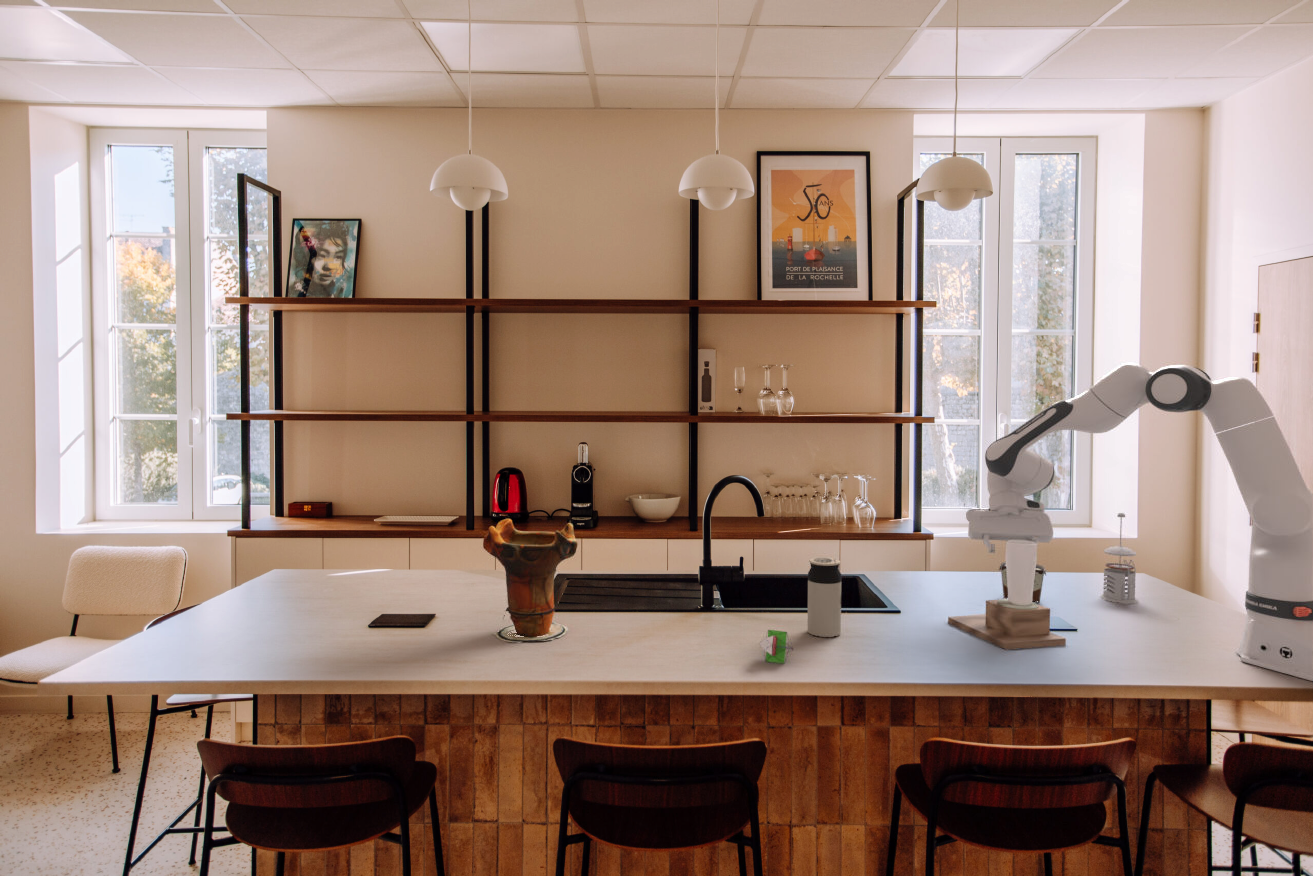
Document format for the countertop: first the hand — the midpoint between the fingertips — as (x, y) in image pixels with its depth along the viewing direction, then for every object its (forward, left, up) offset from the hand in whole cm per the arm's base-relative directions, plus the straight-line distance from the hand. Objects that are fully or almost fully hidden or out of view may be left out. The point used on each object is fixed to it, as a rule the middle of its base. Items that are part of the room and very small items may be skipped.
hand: (1011, 552), depth 194 cm
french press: (+12, -46, -18) cm, 50 cm away
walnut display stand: (-8, +8, -18) cm, 22 cm away
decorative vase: (+19, +121, -18) cm, 124 cm away
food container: (+20, -20, -18) cm, 33 cm away
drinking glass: (-11, +6, -10) cm, 16 cm away
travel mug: (+2, +51, -18) cm, 55 cm away
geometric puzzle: (-14, +70, -18) cm, 74 cm away
